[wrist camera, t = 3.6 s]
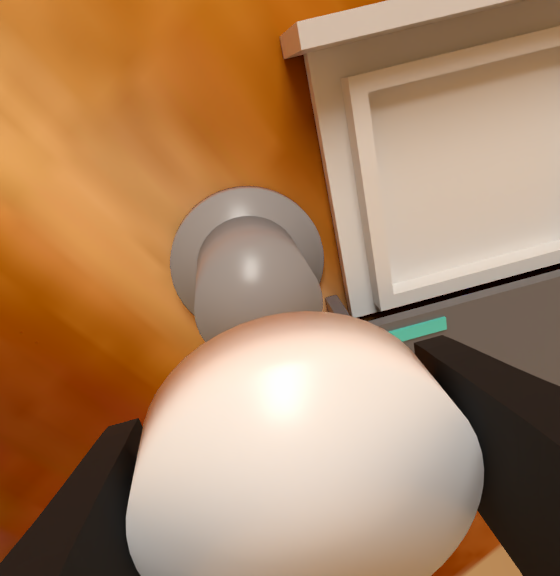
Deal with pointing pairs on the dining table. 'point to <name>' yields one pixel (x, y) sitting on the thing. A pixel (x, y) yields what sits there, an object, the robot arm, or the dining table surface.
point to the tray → (436, 142)
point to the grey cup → (246, 259)
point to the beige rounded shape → (302, 457)
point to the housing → (490, 323)
